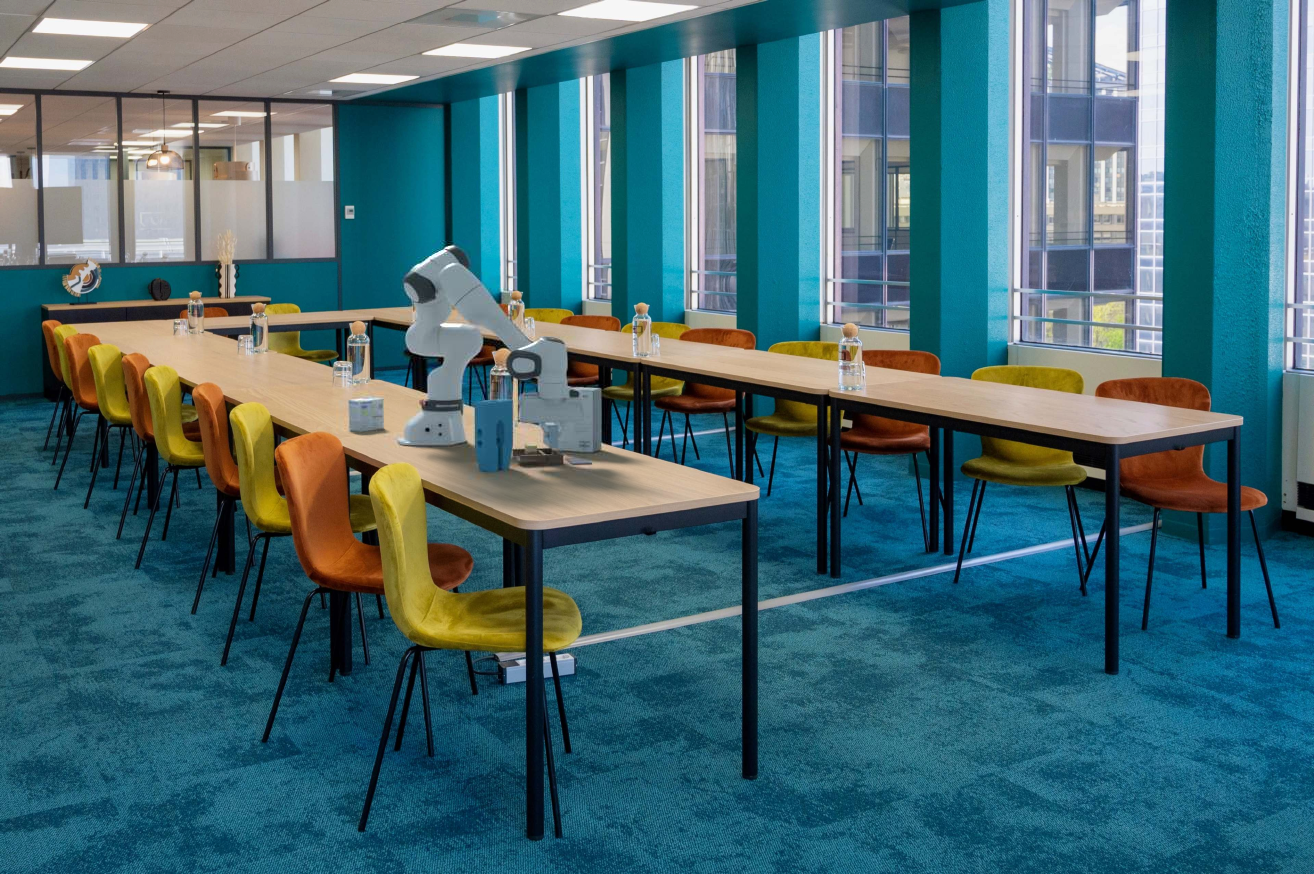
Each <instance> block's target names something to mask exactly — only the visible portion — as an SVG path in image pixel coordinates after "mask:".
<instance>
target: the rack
mask: <svg viewBox="0 0 1314 874" xmlns="http://www.w3.org/2000/svg"><path fill="white" fill-rule="evenodd" d="M511 459H512V460H514V462H515V463H517V464H518V465H519V466H520V467H528V466H529V467H531V466H533V467H534V466H554V465H555V466H557V465H565V464H564V461H565V457H564V454H563V453H561V452H560V451H559V450H556V449H555V448H549V447H537V455H525V448H513V449H512V454H511Z"/></svg>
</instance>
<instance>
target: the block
mask: <svg viewBox="0 0 1314 874" xmlns="http://www.w3.org/2000/svg"><path fill="white" fill-rule="evenodd" d="M512 449H514V400H513V399H510V398H509V399H508V398H497V399H488V400H480V401H474V450H475V458H476V461H477V467H478V470H479V471H480V472H486V473H487V472H488V473H492V472H498V471H499V470H509V469H510V465H511V459H512Z"/></svg>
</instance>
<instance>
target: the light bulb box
mask: <svg viewBox="0 0 1314 874" xmlns="http://www.w3.org/2000/svg"><path fill="white" fill-rule="evenodd" d="M384 413H385V412H384V398H382V397H373V396H370V397H361V398H356V399H348V424H349V425H348V428H349V431H354V432H360V433H361V432H369V431H376V430H383V429H384V428H385V423H384V422H385V421H384V420H385V418H384V415H385V414H384Z"/></svg>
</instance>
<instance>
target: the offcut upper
mask: <svg viewBox="0 0 1314 874" xmlns="http://www.w3.org/2000/svg"><path fill="white" fill-rule="evenodd" d="M537 448H538V445H537V444H536V443H524V449H525V450H526V451H527V452H537Z"/></svg>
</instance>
